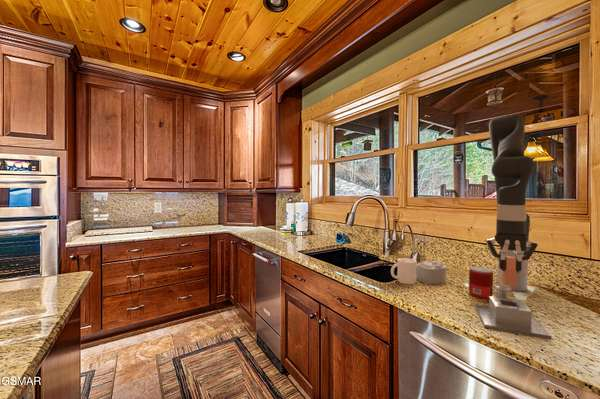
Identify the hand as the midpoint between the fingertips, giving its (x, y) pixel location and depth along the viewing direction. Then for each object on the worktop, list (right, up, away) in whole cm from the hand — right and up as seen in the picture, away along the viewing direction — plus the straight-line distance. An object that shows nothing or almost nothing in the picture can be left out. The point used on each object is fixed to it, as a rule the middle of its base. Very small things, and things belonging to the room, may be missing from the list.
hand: (509, 271), depth 86 cm
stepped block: (0, -4, 0) cm, 4 cm away
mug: (-20, -16, +38) cm, 46 cm away
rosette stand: (+1, -17, +2) cm, 17 cm away
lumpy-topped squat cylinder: (-5, -16, +41) cm, 44 cm away
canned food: (+6, -16, +22) cm, 28 cm away
